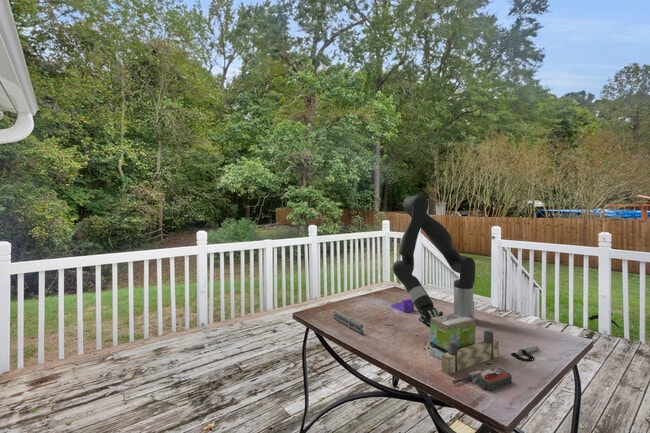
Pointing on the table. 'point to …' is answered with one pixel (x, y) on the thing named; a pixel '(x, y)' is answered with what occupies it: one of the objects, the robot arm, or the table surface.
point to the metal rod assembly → (348, 321)
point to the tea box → (450, 333)
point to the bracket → (404, 305)
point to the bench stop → (469, 354)
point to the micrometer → (525, 353)
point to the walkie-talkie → (488, 378)
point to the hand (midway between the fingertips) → (442, 335)
